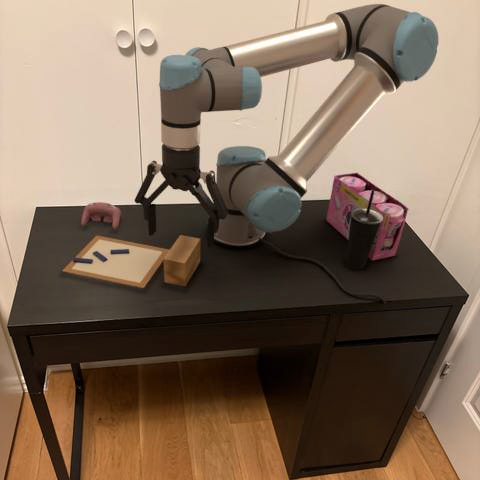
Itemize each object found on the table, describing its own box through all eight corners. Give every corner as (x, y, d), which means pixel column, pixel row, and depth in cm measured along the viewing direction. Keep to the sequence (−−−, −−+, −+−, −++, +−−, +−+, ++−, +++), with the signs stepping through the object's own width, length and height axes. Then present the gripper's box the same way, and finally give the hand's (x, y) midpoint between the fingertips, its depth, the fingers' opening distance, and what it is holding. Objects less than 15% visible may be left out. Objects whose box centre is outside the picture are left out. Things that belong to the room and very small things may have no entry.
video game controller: (121, 230, 137) (122, 204, 135) (116, 231, 132) (117, 204, 131) (85, 227, 137) (86, 200, 136) (79, 227, 133) (80, 200, 131)
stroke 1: (93, 261, 120) (92, 259, 120) (91, 264, 119) (91, 261, 119) (74, 259, 120) (74, 257, 120) (73, 262, 119) (72, 260, 119)
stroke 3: (129, 251, 124) (129, 248, 124) (129, 253, 124) (129, 251, 123) (110, 251, 124) (110, 249, 123) (110, 254, 123) (110, 252, 122)
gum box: (399, 258, 132) (414, 211, 123) (374, 264, 129) (387, 216, 120) (347, 216, 148) (357, 171, 139) (324, 220, 145) (333, 175, 137)
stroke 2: (107, 260, 121) (107, 258, 120) (103, 262, 120) (102, 260, 120) (97, 252, 123) (96, 250, 123) (92, 254, 122) (92, 252, 122)
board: (170, 253, 127) (170, 249, 126) (144, 292, 114) (143, 287, 113) (96, 239, 130) (96, 235, 129) (62, 275, 117) (61, 270, 116)
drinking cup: (372, 260, 130) (391, 187, 117) (368, 276, 124) (388, 201, 112) (342, 253, 132) (358, 181, 119) (337, 268, 126) (353, 194, 113)
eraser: (200, 265, 124) (200, 238, 119) (185, 290, 115) (184, 263, 110) (180, 261, 124) (180, 234, 120) (164, 286, 116) (163, 258, 111)
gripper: (246, 147, 101) (239, 240, 114) (129, 128, 105) (135, 220, 118) (237, 161, 95) (230, 257, 109) (113, 140, 99) (122, 236, 112)
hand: (181, 238), depth 113 cm, fingers open, 13 cm apart
